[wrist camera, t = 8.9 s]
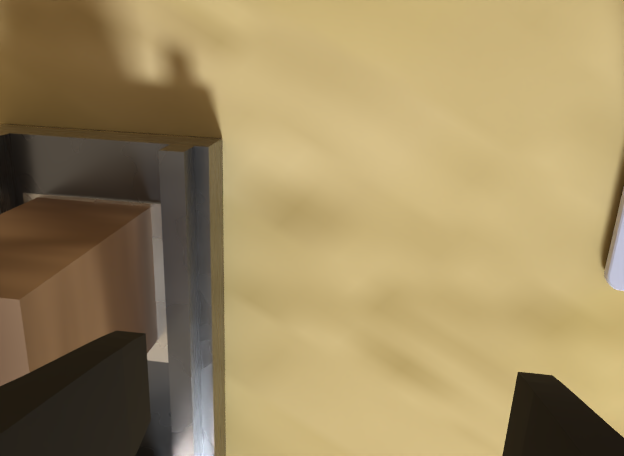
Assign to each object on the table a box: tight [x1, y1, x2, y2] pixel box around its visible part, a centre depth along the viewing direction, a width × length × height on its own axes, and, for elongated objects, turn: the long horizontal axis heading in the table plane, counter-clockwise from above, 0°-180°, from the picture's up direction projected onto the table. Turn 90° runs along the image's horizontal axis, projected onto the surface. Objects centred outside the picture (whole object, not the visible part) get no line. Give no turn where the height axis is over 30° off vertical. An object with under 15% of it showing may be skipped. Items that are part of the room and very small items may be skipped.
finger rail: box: [0, 124, 226, 456], centre depth 19 cm, size 8×20×8 cm, turn 178°
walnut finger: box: [0, 197, 158, 386], centre depth 17 cm, size 4×6×7 cm
